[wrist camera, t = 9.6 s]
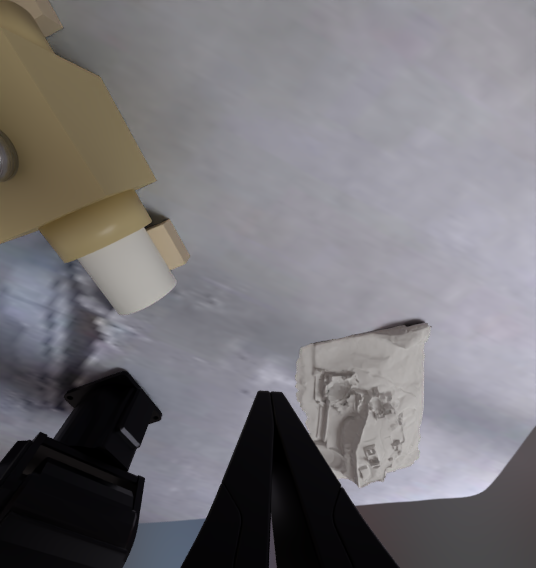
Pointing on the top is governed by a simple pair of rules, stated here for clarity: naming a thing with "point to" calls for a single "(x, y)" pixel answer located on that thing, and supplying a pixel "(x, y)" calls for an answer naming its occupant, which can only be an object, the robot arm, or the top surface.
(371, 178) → the top surface
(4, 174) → the lever
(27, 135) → the valve pipe
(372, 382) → the grey stone relief
